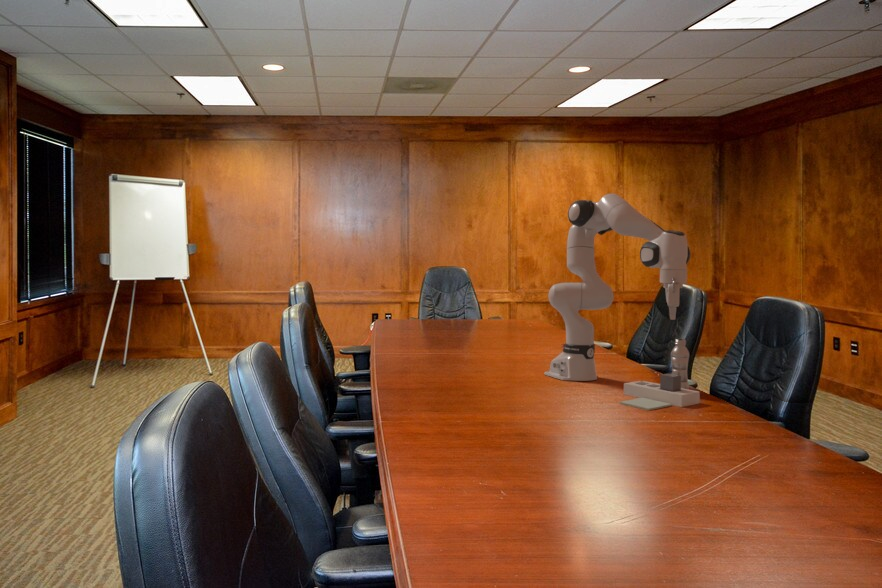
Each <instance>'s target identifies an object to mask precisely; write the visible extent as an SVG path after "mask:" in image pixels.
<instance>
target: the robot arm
mask: <svg viewBox="0 0 882 588" xmlns="http://www.w3.org/2000/svg"><path fill="white" fill-rule="evenodd" d="M567 218H568V221H569V223H571V224H572V225H571V226H570V227H569V229H568V235H567V241H566V267H567V269H568V271H569V272H570V273H572V274H574V275H576V276H578V277H579V278H580V279H581V280H582V282H560V283H555V284H552V286H551V287H550V289H549V291H548V294H547V296H548V301H549V304H550V305H551V306H552V307H553V308H554V309H555V310H556V311H557V312H559V314H560V316H561V317H562V320H563V322H564V324H565V325H564V326H565V341H566V342H565V343H564V344H563V343H562V344H561V348H562V352H560V353H559V354H558V355H557V356H555V357H554V358H553V359H552V360H550V361H551V362H550V364H549V366H550V367H549V370H546V371H545V372H543V374H544V375H545V376H547V377H551V378H555V379H558V380H561V381H576V382H577V381H578V382H579V381H580V382H583V381H584V382H585V381H586V382H589V381H595V380H598V376H597V371H596V370H597V369H596V363H595V361H596V360H595V352H596V350H595V349H596V347H595V346H596V345H595V343H594V342H595V327H594V324H593V323H592V322H591V320H589V319H586V317H583V316H581V315H580V314H579V311H581V310H586V311H587V310H588V311H589V310H590V311H596V310H597V311H598V310H603V309H604V310H605V309H608V308H609V307H611V305H612V304H613V301H614V291H613V290H612V288H611V286H610V285H609V284H607V282H605V281H604V280H603V279H602V278H601V277H600V275H599V273H598V272H597V269H596V260H595V237H596V236H597V234H598V235H600V236H602V235H604V234H606V233H607V232H611V231H614V232H615V233H617V234H618V235H621V236H626V237H633V238H640V239H644V240H647V241H645V242H644V243H643V244H642V246H641V248H640V251H639V260H640V262H641V263H642V265H643V266H644V267H646V268H652V269H655V268H657V269H659V283H660V284H662V285H663V288H664V289H665V300H666V303H667V307H668V315H669V319H670V320H672V321H673V320H674V321H675V320H676V317H677V316H676V314H677V307H679V306H680V289H683V287H684V284H687V283H688V266H687V264H688V263H689V261H690V259H691V250H690V246H689V245H688V239H687V235H686V233H684V232H682V231H681V230H680V231H678V230H671V229H670V230H669V229H667V230H665V229H664V228H662V227H661V226H660V225H658V224H657V223H656V222H654V221H652V220H651V219H649V218H648V217H646V216H645V215H643V214H642V213H641V212H639V211H638V210H637V209H636V208H634V207H633V206H632V205H631V203H630V202H628V201H627V200H625V199H624V198H623V197H622V196H620V195H618V194H617V193H607V194H605V195H603V196H602V197H601V198H600V199H599V200H598V201H592V200H589V199H581V200H580V199H578V200H575V201H574V202H573V203H572V204H570V206H569V208H568V212H567Z"/></svg>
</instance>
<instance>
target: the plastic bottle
mask: <svg viewBox="0 0 882 588" xmlns="http://www.w3.org/2000/svg"><path fill="white" fill-rule="evenodd" d="M674 345H675V346H673V348H672V350H671V352H670V359H671V360H670V361H671V374H675V375H681V388H683V389H688V390H690V387H689V379H688V378H689V377H688V367H689V360H690V351H689V350H688V348H687V347H686V345H687V341H686V338H685V339H684V338H674Z"/></svg>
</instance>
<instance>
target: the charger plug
mask: <svg viewBox="0 0 882 588" xmlns="http://www.w3.org/2000/svg"><path fill="white" fill-rule="evenodd" d="M659 384H660V389H661V390H666V391H671V392H676V391H681V375H675V374H672V373H664V374H663V373H662V374H660V382H659Z"/></svg>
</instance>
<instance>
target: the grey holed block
mask: <svg viewBox="0 0 882 588" xmlns="http://www.w3.org/2000/svg"><path fill="white" fill-rule="evenodd" d="M700 394H701V391H698V390H693V389H683V388H681V391H676V392H671V391H666V390H661V389H660V383H656V382H650V381H646V380H636V381H631V382H624V383H623V395H625V396H629V397H633V398H647V399H651V400H656V401H660V402H665V403H669V404H672V406H673V407H674V406H675V407H679V408H684V407H689V406H693V405H698V404H700V400H701V399H700V397H701V396H700Z"/></svg>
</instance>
